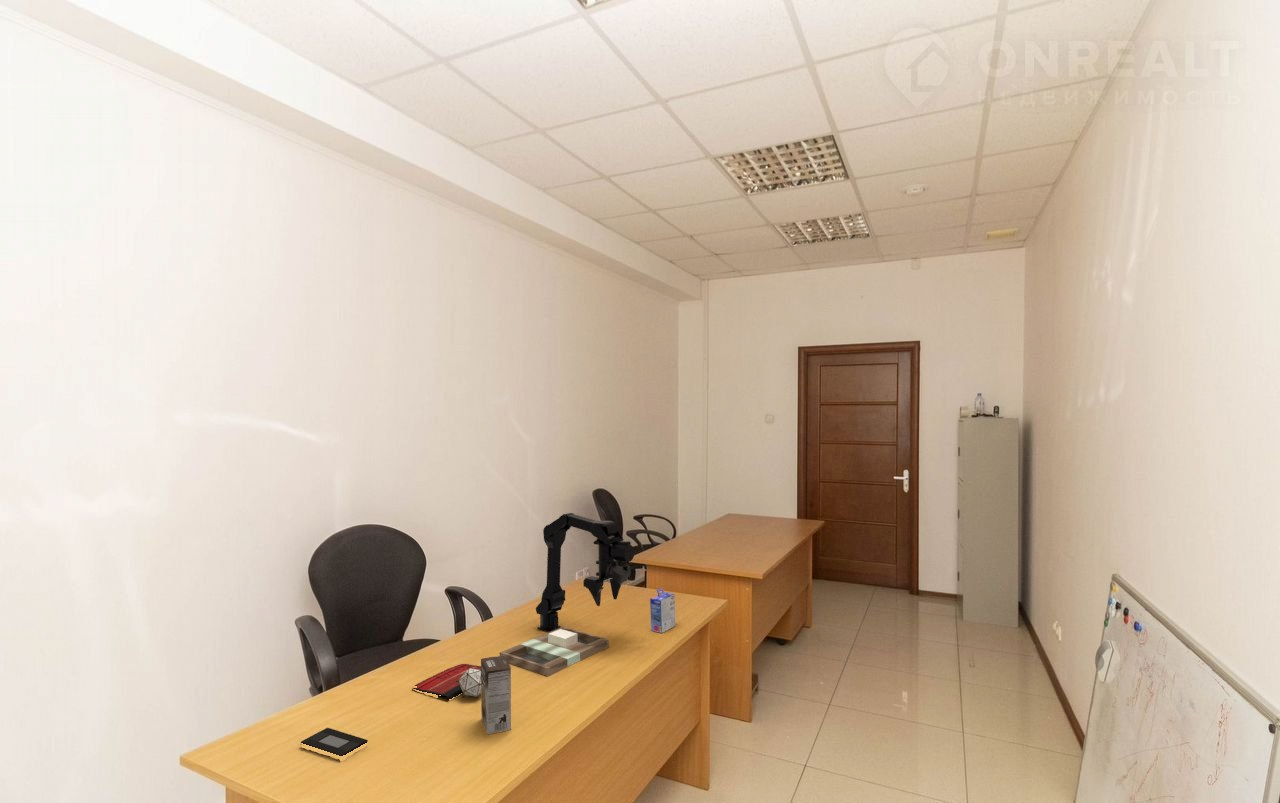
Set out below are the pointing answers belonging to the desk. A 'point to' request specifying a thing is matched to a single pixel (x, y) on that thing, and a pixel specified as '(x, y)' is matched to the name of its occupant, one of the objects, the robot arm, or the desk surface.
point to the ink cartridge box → (662, 611)
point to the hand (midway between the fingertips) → (606, 602)
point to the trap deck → (553, 652)
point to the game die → (471, 682)
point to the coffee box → (496, 694)
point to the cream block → (562, 638)
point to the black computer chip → (334, 741)
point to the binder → (445, 681)
